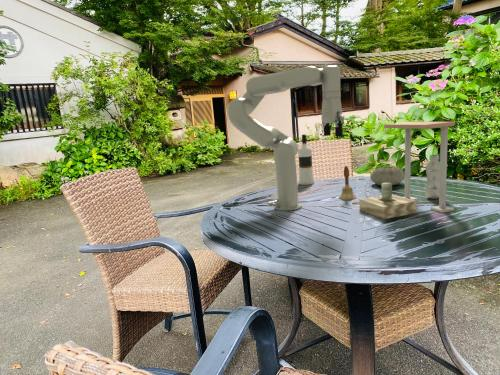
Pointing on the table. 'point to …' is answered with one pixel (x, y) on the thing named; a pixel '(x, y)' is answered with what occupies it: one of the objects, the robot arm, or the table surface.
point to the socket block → (388, 206)
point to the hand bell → (347, 187)
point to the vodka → (305, 163)
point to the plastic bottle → (433, 177)
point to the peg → (386, 192)
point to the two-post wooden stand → (443, 158)
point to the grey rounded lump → (387, 175)
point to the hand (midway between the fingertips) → (332, 136)
